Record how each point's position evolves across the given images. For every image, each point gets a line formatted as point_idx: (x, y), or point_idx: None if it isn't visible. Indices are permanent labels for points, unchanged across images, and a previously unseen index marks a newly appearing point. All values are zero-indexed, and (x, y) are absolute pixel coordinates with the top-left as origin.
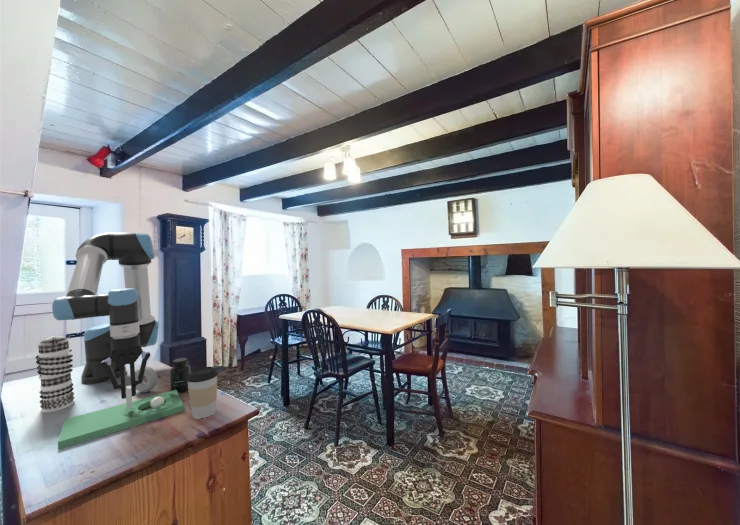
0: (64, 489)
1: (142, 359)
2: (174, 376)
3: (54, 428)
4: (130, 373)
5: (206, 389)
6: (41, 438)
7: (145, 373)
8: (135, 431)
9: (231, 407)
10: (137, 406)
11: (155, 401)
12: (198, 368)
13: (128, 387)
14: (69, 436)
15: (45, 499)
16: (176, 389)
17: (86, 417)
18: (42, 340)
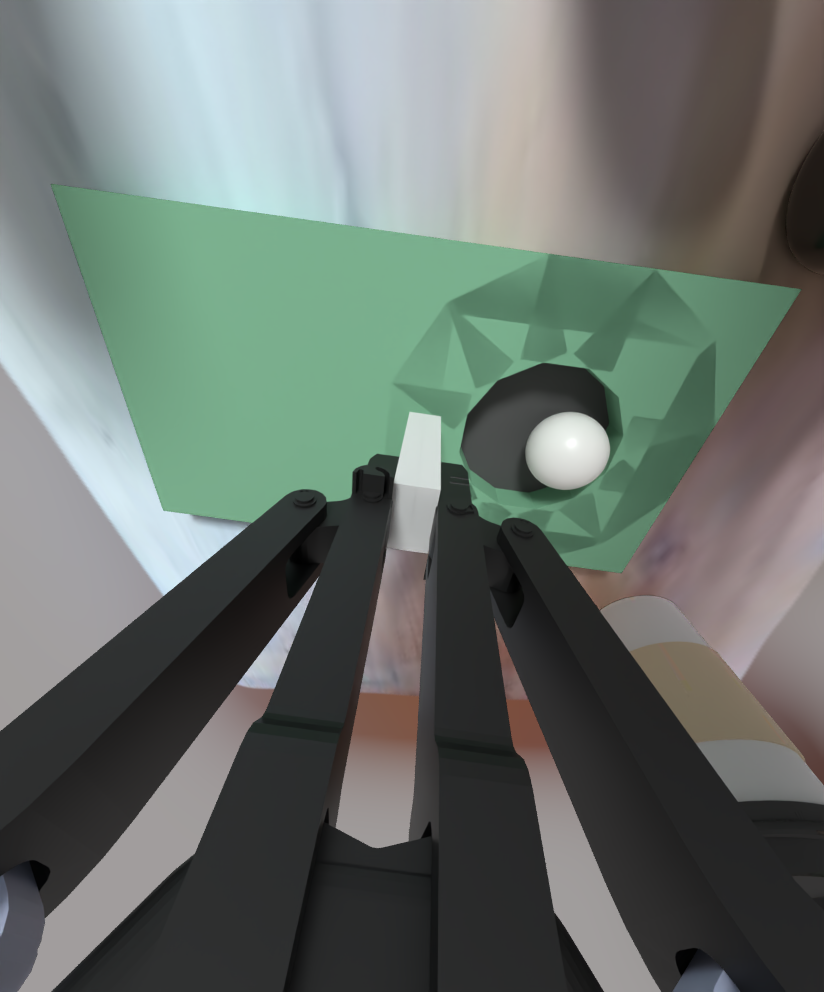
0: (268, 674)
1: (696, 899)
2: None
3: (36, 185)
4: (422, 686)
5: None
6: (42, 306)
7: None
8: (416, 567)
9: (716, 650)
10: (470, 395)
11: (550, 486)
12: (813, 879)
13: (411, 524)
14: (191, 496)
15: (243, 677)
16: (819, 255)
17: (198, 303)
18: None
